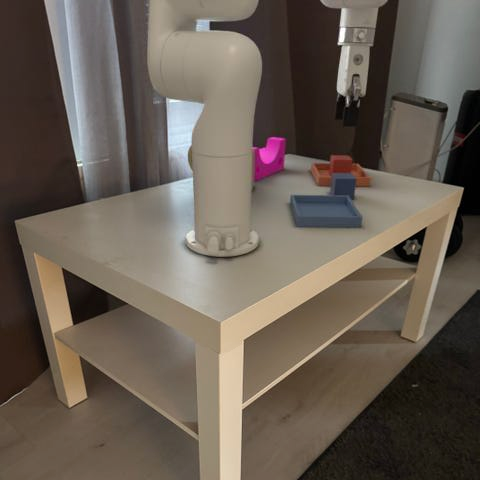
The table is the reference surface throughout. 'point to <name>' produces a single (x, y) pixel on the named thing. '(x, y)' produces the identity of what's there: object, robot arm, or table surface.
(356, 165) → the red tray
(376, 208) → the table surface
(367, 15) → the robot arm
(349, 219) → the blue tray
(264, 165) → the toy block
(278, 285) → the table surface
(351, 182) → the blue block
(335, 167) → the red block
